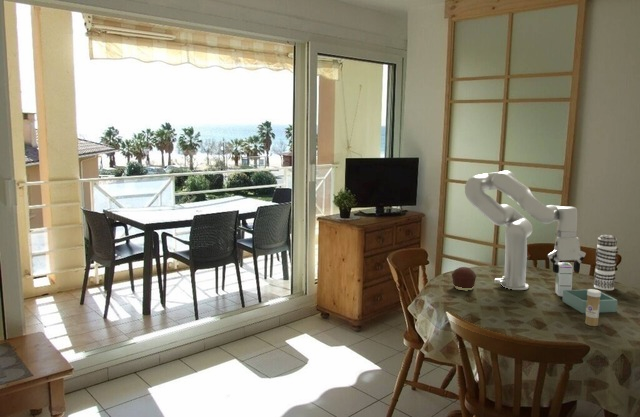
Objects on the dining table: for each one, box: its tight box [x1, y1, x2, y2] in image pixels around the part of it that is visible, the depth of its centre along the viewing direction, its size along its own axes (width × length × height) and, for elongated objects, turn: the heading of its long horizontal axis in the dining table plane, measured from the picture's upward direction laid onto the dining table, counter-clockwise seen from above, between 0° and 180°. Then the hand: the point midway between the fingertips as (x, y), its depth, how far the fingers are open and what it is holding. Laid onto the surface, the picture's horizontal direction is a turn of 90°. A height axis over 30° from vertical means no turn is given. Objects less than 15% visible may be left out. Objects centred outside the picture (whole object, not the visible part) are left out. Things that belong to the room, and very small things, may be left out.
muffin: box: [451, 266, 477, 288], centre depth 237 cm, size 12×11×10 cm
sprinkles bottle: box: [584, 288, 602, 327], centre depth 191 cm, size 5×5×13 cm
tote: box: [562, 288, 618, 314], centre depth 211 cm, size 15×15×5 cm
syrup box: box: [554, 261, 574, 298], centre depth 226 cm, size 6×6×14 cm
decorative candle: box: [593, 234, 619, 291], centre depth 235 cm, size 9×9×25 cm
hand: (566, 271), depth 225 cm, fingers open, 9 cm apart
